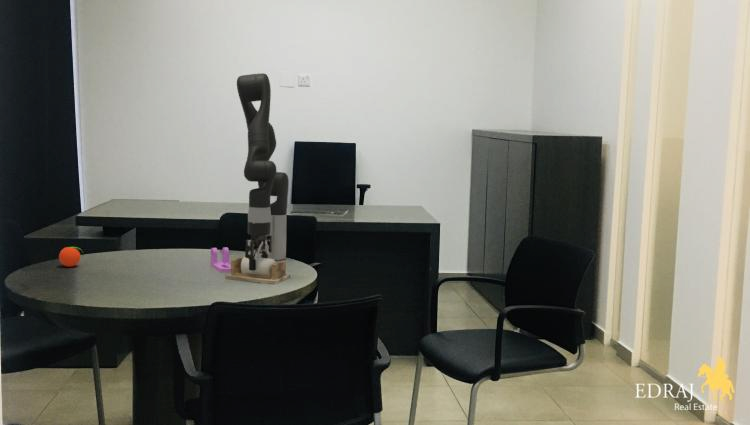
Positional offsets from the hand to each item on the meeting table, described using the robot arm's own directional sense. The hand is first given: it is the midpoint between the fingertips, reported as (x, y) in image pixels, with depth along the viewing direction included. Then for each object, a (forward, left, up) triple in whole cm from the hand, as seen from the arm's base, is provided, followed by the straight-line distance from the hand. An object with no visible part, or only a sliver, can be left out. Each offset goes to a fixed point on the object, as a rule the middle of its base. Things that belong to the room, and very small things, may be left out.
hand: (258, 268), depth 256 cm
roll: (0, 0, -2) cm, 2 cm away
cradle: (0, 0, -3) cm, 3 cm away
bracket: (-8, -18, -4) cm, 20 cm away
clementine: (+14, -65, -4) cm, 67 cm away
